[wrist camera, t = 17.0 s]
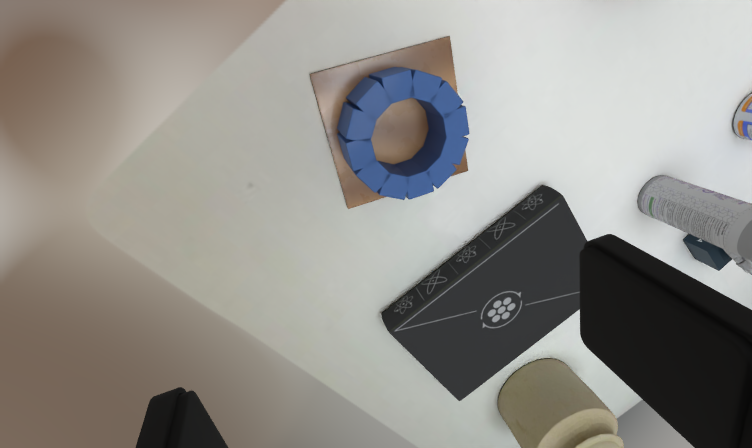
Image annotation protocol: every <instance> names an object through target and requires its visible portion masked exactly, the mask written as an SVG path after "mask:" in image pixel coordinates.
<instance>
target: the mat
mask: <svg viewBox="0 0 752 448" xmlns="http://www.w3.org/2000/svg"><path fill="white" fill-rule="evenodd" d="M392 67H404V68H410V69H415V70H419V71H422V72H425V73H429V74H432V75H435V76H438V77H441V78H442V80H445V81H447V82H448V83H449V85H450V86H451V87H452V88H453V89H454V91H455V92H456V93H457V86H456V79H455V71H454V64H453V57H452V49H451V42H450V36H448V37H444V38H440V39H436V40H433V41H429V42H425V43H422V44H418V45H414V46H411V47H407V48H403V49H400V50H396V51H392V52H389V53H385V54H381V55H378V56H374V57H370V58H366V59H363V60H359V61H355V62H352V63H348V64H344V65H341V66H337V67H333V68H330V69H326V70H322V71H319V72H315V73H311V74H310V78H311V81H312V85H313V88H314V92H315V95H316V99H317V102H318V106H319V109H320V113H321V116H322V120H323V123H324V127H325V130H326V134H327V137H328V141H329V144H330V148H331V152H332V155H333V159H334V162H335V166H336V169H337V173H338V176H339V180H340V183H341V187H342V190H343V194H344V197H345V201H346V204H347V207H348V209H350V208H353V207H356V206H359V205H362V204H365V203H368V202H372V201H375V200H378V199H381V198H384V197H386V196H381V195H379V194H378V193H377V192H376V193H374V192H373V191H372V190H371V189H370V188H369V187H368V186H367V185H366V184H365V183H363V182H362V181H361V180H360V179H359V178H358V177H357V176H356V175H355V173H354V172H353V171H352V169H351V168H350V167H349V165H348V164H347V162H346V160H345V159H344V157H343V153H342V150H341V146H340V143H339V139H338V136H337V133H340V131H339V130H338V129H337V126H338V122H339V118H340V114H341V110H342V106H343V102H347V103H350V102H349V101H348V100H347V99H346V97H347V96H348V94H349V93H350V92H351V91H352V90H353V89H354V88H355V87H356V86H357V85H358V84H359V83H360V81H361V80H362V79H363V78H364V77H367V78H370V77H369V74H371V73H375V72H378V71H382V70H385V69H388V68H392ZM457 94H458V93H457ZM350 104H351V103H350ZM428 130H429V127H428V121H427V116H426V110H425V109H424V108H423V107H422V106H421V105H420V104H419V102H418V101H417V100H416V99H414V98H409V99H405V100H402V101H399V102H396V103H392V104H391V105H390V106H389V107H388V108H387V109H386V110H385V111H384V112H383V113H382V114H381V115H380V117H379V118H378V119H377V120H376V124H375V127H374V131H373V135H372V139H371V141H372V145H373V149H374V153H375V157H376V160H377V161H381V162H386V163H390V164H397V163H400V162H403V161H406V160H409V159H411V158H412V157H413V156H414V155H415V154H416V153H417V152H418V151H419V150H420V149H421V148H422V147H423V146H424V143H425V139H426V136H427V133H428ZM453 165H454V166H455V167H456V169H457V170H456V171H455V172H454V173H453V174H452V175H451V176H453V175H456V174H459V173H462V172H466V171H468V167H467V159H466V152H465V151H464V154H463V157H462V160H461V163H460V165H456V164H453Z"/></svg>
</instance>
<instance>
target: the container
mask: <svg viewBox="0 0 752 448" xmlns="http://www.w3.org/2000/svg"><path fill="white" fill-rule="evenodd" d="M638 207H639V209H640V211H641V212H643V213H645V214H647V215H649V216H651V217H653V218H656V219H658V220H660V221H662V222H664V223H667V224H669V225H671V226H673V227H676V228H678V229H680V230H682V231H684V232H687V233H689V234H691V235H693V236H696V237H698V238H700V239H702V240H705V241H707V242H709V243H711V244H713V245H716V246H718V247H720V248H722V249H725V250H727V251H729V252H731V253H734V254H736V255H739V256H741V257H743V258H746V259H748V260H750V261H752V204H750V203H747V202H744V201H741V200H738V199H735V198H732V197H729V196H726V195H723V194H720V193H717V192H714V191H711V190H708V189H705V188H702V187H699V186H696V185H693V184H690V183H686V182H683V181H680V180H677V179H674V178H671V177H668V176H664V175H660V176H656V177H654V178H652V179H651V180H650V181H648V182H647V183H646V184H645V185H644V187H643V188H642V190H641V192H640V194H639V197H638Z"/></svg>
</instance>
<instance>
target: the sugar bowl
mask: <svg viewBox="0 0 752 448" xmlns="http://www.w3.org/2000/svg"><path fill="white" fill-rule="evenodd" d="M498 408H499V411H500V414H501V415H502V417H503V419H504V420H505V422H506V424H507V425H508V427H509V428H510V430H511V432H512V433H513V435H514V437H515V438H516V440H517V441H518V443H519V445H520V446H521V448H624V445H623V441H622V439H621V438H620V437H619V436H617V435H616V434H617V429H618V424H617V419H616V417H615V415H614V414H613V413H612V412H611V411H610V410H609V409H608V407H607V406H606V405H605V404H604V403H603V402H602V401H601V400H600V399H599V398H598V396H597V395H596V394H595V393H594V392H593V391H592V390H591V389H590V388H589V387H588V386H587V385H586V384H585V383H584V382H583V381H582V380H581V379H580V378H579V377H578V376H577V375H576V374H575V373H574V372H573V371H572V370H571V369H570V368H569V367H568V366H567V365H566V364H565V363H563V362H561V361H559V360H556V359H541V360H537V361H534V362H531V363H529V364H527V365H525V366H523V367H522V368H520V369H519V370H518V371H516V372H515V373H514V374H513V375H512V376H511V377H510V378H509V379H508V380H507V382H506V383H505V384H504V386H503V388H502V390H501V392H500V395H499V399H498Z"/></svg>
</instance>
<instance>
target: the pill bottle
mask: <svg viewBox="0 0 752 448" xmlns="http://www.w3.org/2000/svg"><path fill="white" fill-rule="evenodd" d="M734 130H735V133H736V134H737V135H738V136H739V137H741V138H743V139H747V140H752V93H751V94H750V95H749V96H748V97H747V98H746V99H745V100H744V101H743V102H742V103H741V105H740V106H739V108H738V110H737V112H736V115H735V118H734Z"/></svg>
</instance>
